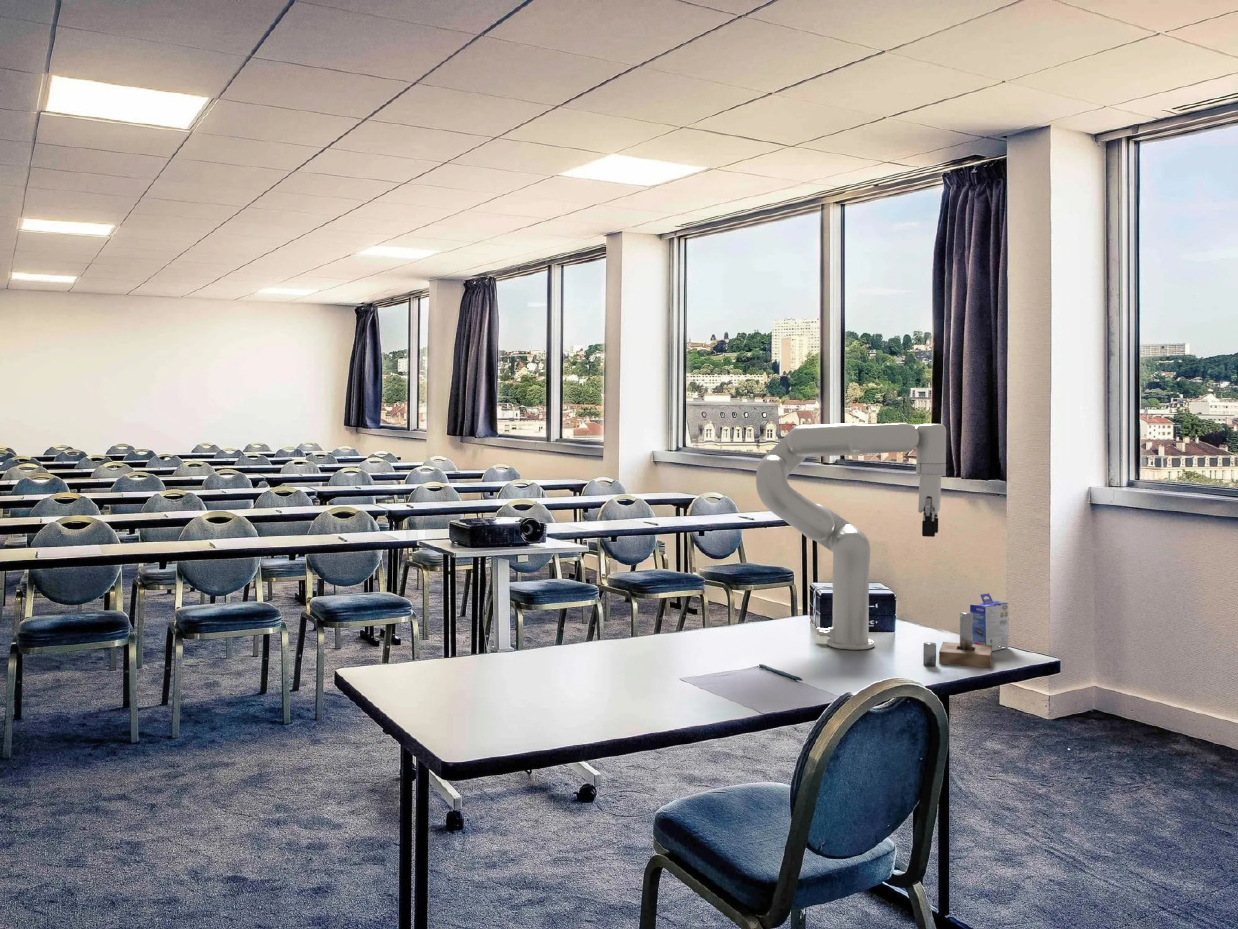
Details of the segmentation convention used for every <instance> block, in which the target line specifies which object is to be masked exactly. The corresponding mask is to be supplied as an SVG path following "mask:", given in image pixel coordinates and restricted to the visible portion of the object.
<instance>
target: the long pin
mask: <svg viewBox="0 0 1238 929" xmlns="http://www.w3.org/2000/svg"><path fill="white" fill-rule="evenodd" d="M972 618H973V613H970V612H969V611H961V612H959V643H960V650H969V651H972Z"/></svg>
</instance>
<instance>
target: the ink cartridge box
mask: <svg viewBox="0 0 1238 929" xmlns="http://www.w3.org/2000/svg"><path fill="white" fill-rule="evenodd" d="M986 597H987V598H986ZM980 598H981V600H982V602H978V603H973V604H970V605H969V611H970V613H973V618H972V644H978V645H992V652H994V651H999V650H1004V649H1008V648H1009V647H1010V646H1009V644H1010V643H1009V639H1010V638H1009V603H1008V602H1005V601H1004V602H1003V601H998V600H993V599H992V597H991V594H990V593H982V594H980ZM985 598H986V599H985ZM999 646H1000V647H999ZM1002 647H1006V648H1002Z"/></svg>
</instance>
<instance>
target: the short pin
mask: <svg viewBox="0 0 1238 929" xmlns="http://www.w3.org/2000/svg"><path fill="white" fill-rule="evenodd" d="M922 659H923V664H922V665H923V667H928V668H935V667H936V666H937V643H936V642H931V641H925V642H923V658H922Z"/></svg>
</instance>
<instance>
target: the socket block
mask: <svg viewBox="0 0 1238 929" xmlns="http://www.w3.org/2000/svg"><path fill="white" fill-rule="evenodd" d="M992 659H993V651H992V645H978V644H972V651H969V650H960V642H949V641H948V642H947V641H942V644H941V646H940V649H939V653H938V664H942V665H952V666H953V665H956V666H965V667H978V668H979V667H982V668H991V665H992Z"/></svg>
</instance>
